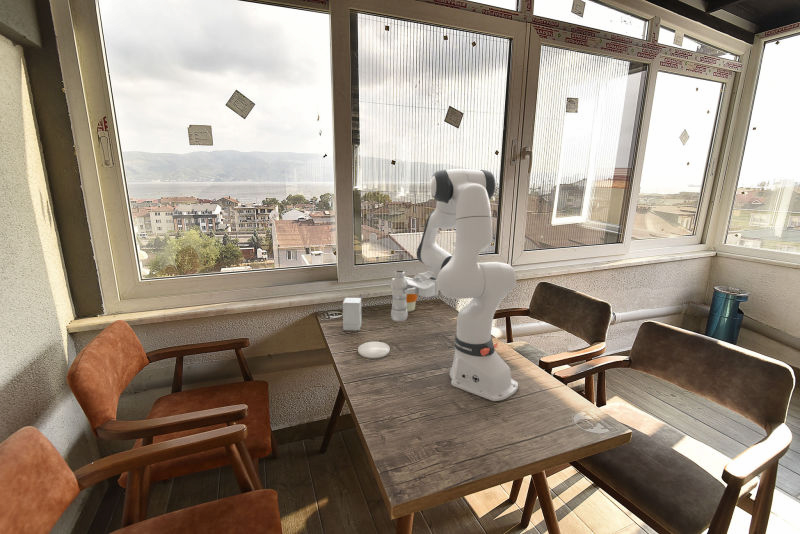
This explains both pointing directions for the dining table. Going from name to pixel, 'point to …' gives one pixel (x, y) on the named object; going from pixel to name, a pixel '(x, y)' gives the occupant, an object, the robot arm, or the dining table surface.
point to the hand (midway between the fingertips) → (398, 289)
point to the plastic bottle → (399, 297)
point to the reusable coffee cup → (411, 301)
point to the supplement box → (352, 314)
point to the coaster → (373, 349)
